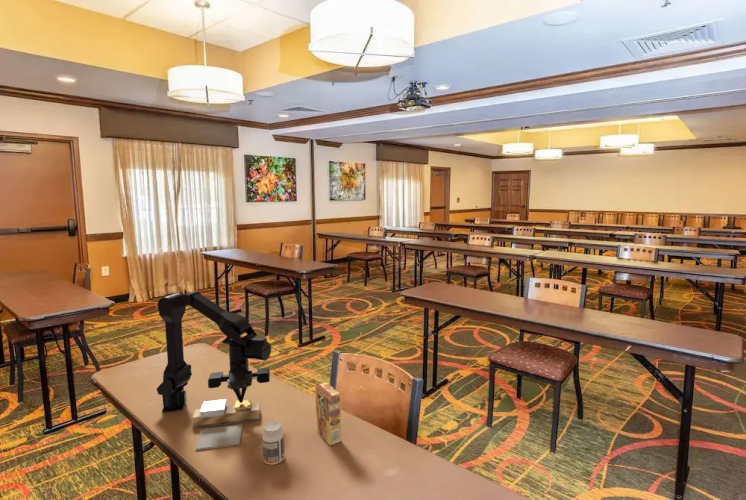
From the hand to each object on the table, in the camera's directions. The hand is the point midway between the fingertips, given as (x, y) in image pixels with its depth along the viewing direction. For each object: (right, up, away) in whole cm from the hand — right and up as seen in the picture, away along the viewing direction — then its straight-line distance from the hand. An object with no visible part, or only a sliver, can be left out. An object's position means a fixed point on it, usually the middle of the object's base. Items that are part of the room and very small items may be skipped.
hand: (241, 402), depth 134 cm
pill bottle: (+16, -9, -20) cm, 27 cm away
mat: (-3, -7, -10) cm, 13 cm away
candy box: (+30, -7, -10) cm, 32 cm away
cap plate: (-8, -2, -2) cm, 9 cm away
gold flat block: (+2, -1, +1) cm, 3 cm away
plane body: (-4, -6, 0) cm, 7 cm away
